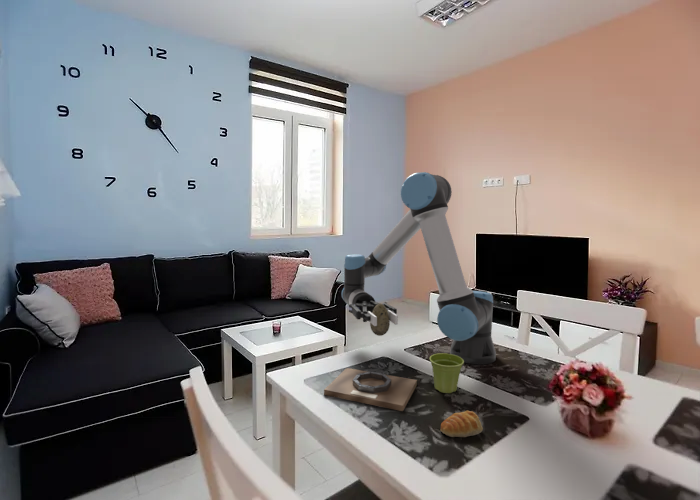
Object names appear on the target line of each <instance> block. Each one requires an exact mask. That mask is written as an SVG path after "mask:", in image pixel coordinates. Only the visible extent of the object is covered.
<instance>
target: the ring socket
mask: <svg viewBox="0 0 700 500" xmlns="http://www.w3.org/2000/svg"><path fill="white" fill-rule="evenodd" d="M386 375H387V374H385V373H381V372H376V371H368V372H365V373H359V374H357V375H356V376H355V378H354V379H353V385H354V387H355V388H356V389H357V390H358V391H362V392H367V393H372V394H375V393H380V392H385V391H387V390H388V389H389V387H390V386H391V379H390V378H389V377H387V376H386ZM369 378H373V379H379V380H382V381H384V382H385V384H384V385H379V386H368V385H362V384H361V383H360V382H359V381H360V380H363V379H369Z"/></svg>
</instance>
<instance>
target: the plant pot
mask: <svg viewBox="0 0 700 500" xmlns="http://www.w3.org/2000/svg"><path fill="white" fill-rule="evenodd" d="M429 362H430V363H431V367H432V374H433V375H432V376H433V385H434V389H435V390H437V391H439V392H440V393H443V394H452V393H453V392H454V393H455V392H456V391H457V389H458V388H457V387H458V383H459V378H460V373H461V369H462V366H463V365H464V363H465V362H464V360H463V359H462V358H461V357H459V356H456V355H453V354H450V353H446V352H444V353H442V352H441V353H434V354H432V355H430V356H429Z"/></svg>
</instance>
